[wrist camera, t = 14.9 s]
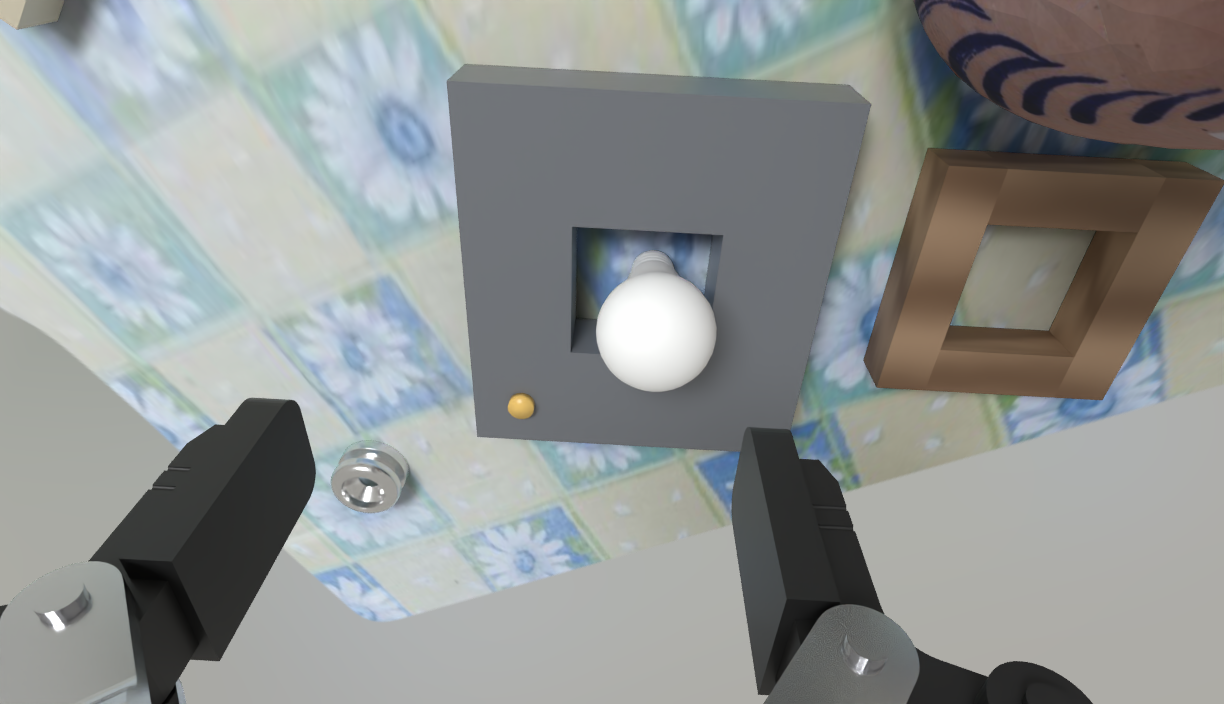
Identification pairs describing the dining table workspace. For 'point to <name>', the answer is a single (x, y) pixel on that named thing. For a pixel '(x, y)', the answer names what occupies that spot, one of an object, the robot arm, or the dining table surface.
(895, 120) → the dining table surface
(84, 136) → the dining table surface
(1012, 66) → the ceramic pitcher
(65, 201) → the dining table surface
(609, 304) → the lightbulb
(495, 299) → the socket block
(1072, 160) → the wooden picture frame
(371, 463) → the metal grooved wheel
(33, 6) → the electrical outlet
